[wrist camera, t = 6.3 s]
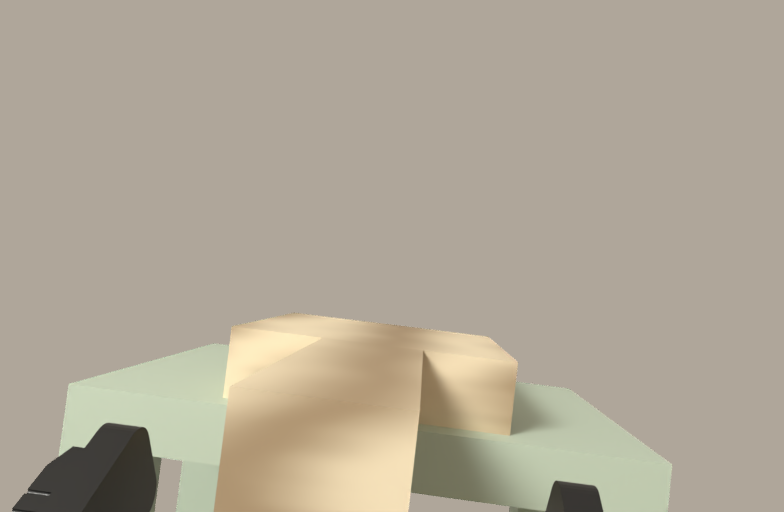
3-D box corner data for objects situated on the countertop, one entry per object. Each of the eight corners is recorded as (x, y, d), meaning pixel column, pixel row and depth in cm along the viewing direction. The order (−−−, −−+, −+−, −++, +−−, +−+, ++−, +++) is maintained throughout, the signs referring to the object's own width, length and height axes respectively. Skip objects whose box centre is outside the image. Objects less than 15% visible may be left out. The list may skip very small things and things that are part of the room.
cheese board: (40, 499, 11) (59, 363, 11) (288, 361, 31) (294, 312, 31) (588, 579, 11) (604, 435, 11) (482, 386, 30) (488, 336, 31)
